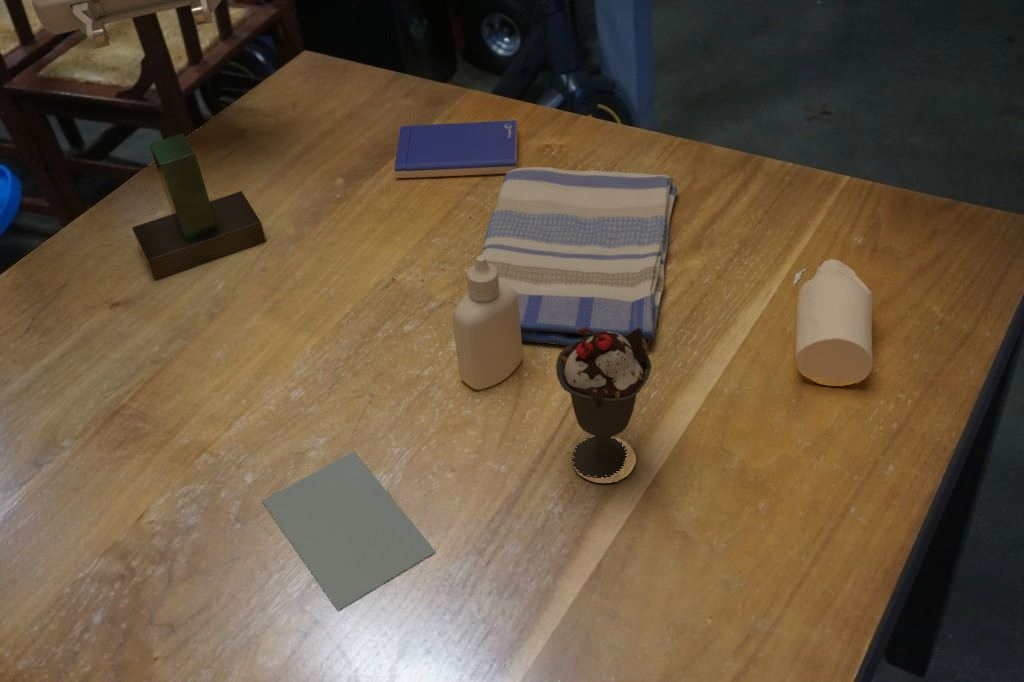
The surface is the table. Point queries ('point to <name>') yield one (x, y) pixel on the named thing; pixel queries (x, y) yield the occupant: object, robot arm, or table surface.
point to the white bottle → (834, 325)
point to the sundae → (603, 394)
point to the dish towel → (582, 250)
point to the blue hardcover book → (456, 149)
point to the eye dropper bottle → (487, 328)
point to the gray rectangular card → (347, 529)
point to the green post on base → (193, 216)
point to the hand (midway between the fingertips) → (150, 29)
